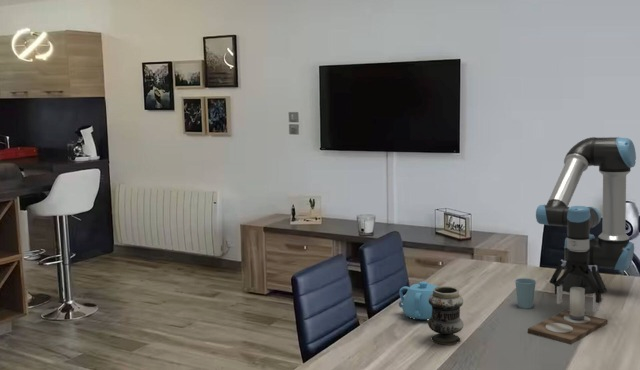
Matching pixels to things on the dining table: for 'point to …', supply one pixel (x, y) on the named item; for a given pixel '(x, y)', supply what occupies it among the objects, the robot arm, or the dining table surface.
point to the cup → (525, 292)
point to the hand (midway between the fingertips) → (577, 307)
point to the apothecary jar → (445, 314)
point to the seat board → (567, 327)
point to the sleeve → (577, 303)
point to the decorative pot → (417, 300)
